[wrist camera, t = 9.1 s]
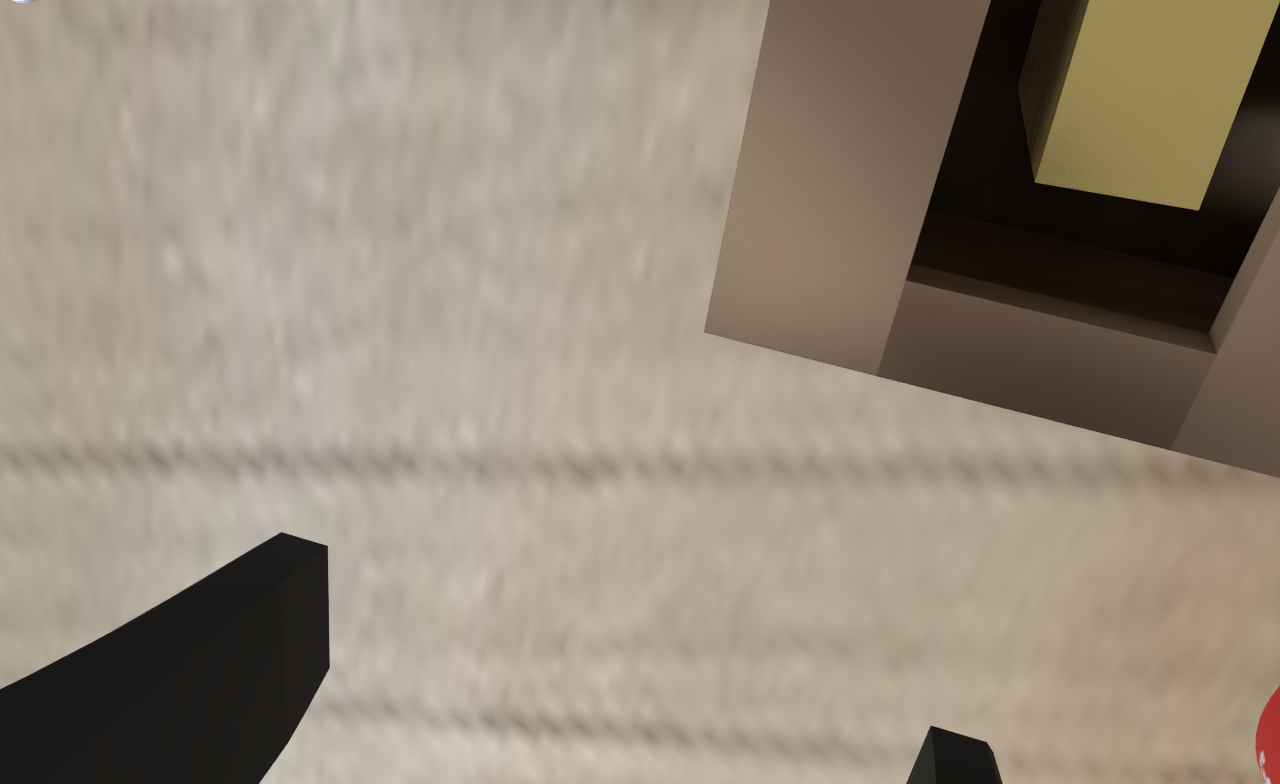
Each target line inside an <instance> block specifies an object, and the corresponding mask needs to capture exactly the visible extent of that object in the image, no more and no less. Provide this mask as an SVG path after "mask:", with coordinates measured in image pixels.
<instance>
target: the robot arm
mask: <svg viewBox="0 0 1280 784" xmlns="http://www.w3.org/2000/svg"><path fill="white" fill-rule="evenodd" d="M13 1H15V2H18V3H28V2H32V1H36V0H13ZM329 668H330V660H329V596H328V546H326V545H323V544H319V543H316V542H312V541H309V540H306V539H302V538H299V537H296V536H292V535H289V534H286V533H282V532H281V533H279V534H278V535H276V536H274V537H272V538H271V539H269V540H267V541H265V542H264V543H262V544H260V545H258V546H257V547H255V548H253V549H252V550H250V551H248V552H246V553H245V554H243V555H241V556H240V557H238V558H236V559H235V560H233V561H231V562H230V563H228V564H226V565H225V566H223V567H221V568H220V569H218V570H216V571H215V572H213V573H211V574H210V575H208V576H206V577H205V578H203V579H201V580H200V581H198V582H196V583H195V584H193V585H191V586H190V587H188V588H186V589H185V590H183V591H181V592H180V593H178V594H176V595H175V596H173V597H171V598H170V599H168V600H166V601H164V602H163V603H161V604H159V605H157V606H156V607H154V608H152V609H150V610H149V611H147V612H145V613H143V614H142V615H140V616H138V617H136V618H135V619H133V620H131V621H129V622H128V623H126V624H124V625H122V626H121V627H119V628H117V629H115V630H114V631H112V632H110V633H108V634H106V635H105V636H103V637H101V638H99V639H97V640H96V641H94V642H92V643H90V644H88V645H86V646H84V647H82V648H80V649H78V650H76V651H75V652H73V653H71V654H69V655H67V656H65V657H63V658H61V659H59V660H57V661H55V662H53V663H52V664H50V665H48V666H46V667H44V668H42V669H40V670H38V671H36V672H34V673H32V674H30V675H29V676H27V677H25V678H22V679H20V680H18V681H16V682H14V683H12V684H10V685H8V686H6V687H4V688H2V689H0V784H259V783H260V781H261V780H262V779H263V777H264V776H265V774H266V773H267V772H268V770H269V769H270V767H271V766H272V765H273V763H274V762H275V760H276V759H277V758H278V756H279V755H280V753H281V752H282V751H283V749H284V748H285V746H286V745H287V743H288V742H289V740H290V738H291V737H292V735H293V733H294V731H295V730H296V728H297V726H298V724H299V723H300V721H301V719H302V717H303V716H304V714H305V712H306V710H307V709H308V707H309V705H310V703H311V701H312V699H313V698H314V696H315V694H316V692H317V690H318V688H319V686H320V685H321V683H322V681H323V679H324V677H325V675H326V673H327V672H328V670H329ZM906 784H1003V783H1002V780H1001V777H1000V774H999V770H998V767H997V764H996V760H995V757H994V753H993V751H992V750H991V748H990V746H989V745H988V743H987V742H984V741H981V740H977V739H974V738H971V737H967V736H964V735H961V734H957V733H954V732H951V731H947V730H944V729H940V728H937V727H934V726H930V729H929V731H928V733H927V736H926V738H925V741H924V743H923V745H922V748H921V750H920V752H919V755H918V757H917V759H916V762H915V764H914V767H913V769H912V771H911V774H910V776H909V778H908V781H907V783H906Z"/></svg>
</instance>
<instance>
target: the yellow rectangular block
mask: <svg viewBox="0 0 1280 784" xmlns="http://www.w3.org/2000/svg"><path fill="white" fill-rule="evenodd" d="M1279 2H1280V0H1042V2H1041V5H1040V9H1039V12H1038V16H1037V20H1036V23H1035V27H1034V30H1033V34H1032V38H1031V41H1030V45H1029V48H1028V52H1027V56H1026V59H1025V63H1024V66H1023V70H1022V74H1021V77H1020V81H1019V84H1018V91H1019V97H1020V102H1021V108H1022V114H1023V119H1024V125H1025V130H1026V136H1027V142H1028V147H1029V153H1030V158H1031V164H1032V170H1033V175H1034V181H1035V182H1036V183H1042V184H1047V185H1053V186H1059V187H1065V188H1071V189H1077V190H1082V191H1088V192H1094V193H1100V194H1106V195H1111V196H1117V197H1123V198H1129V199H1135V200H1141V201H1146V202H1152V203H1158V204H1164V205H1170V206H1175V207H1181V208H1187V209H1193V210H1199V208H1200V206H1201V203H1202V201H1203V198H1204V195H1205V193H1206V190H1207V188H1208V185H1209V183H1210V180H1211V177H1212V175H1213V172H1214V170H1215V167H1216V165H1217V162H1218V159H1219V157H1220V154H1221V152H1222V149H1223V147H1224V144H1225V141H1226V139H1227V136H1228V134H1229V131H1230V129H1231V126H1232V123H1233V121H1234V118H1235V116H1236V113H1237V111H1238V108H1239V105H1240V103H1241V100H1242V98H1243V95H1244V92H1245V90H1246V87H1247V85H1248V82H1249V80H1250V77H1251V74H1252V72H1253V69H1254V67H1255V64H1256V62H1257V59H1258V56H1259V54H1260V51H1261V49H1262V46H1263V44H1264V41H1265V38H1266V36H1267V33H1268V31H1269V28H1270V26H1271V23H1272V20H1273V18H1274V15H1275V13H1276V10H1277V8H1278V5H1279Z"/></svg>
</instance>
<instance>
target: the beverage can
mask: <svg viewBox="0 0 1280 784" xmlns="http://www.w3.org/2000/svg"><path fill="white" fill-rule="evenodd" d="M1256 755H1257V761H1258V765H1259V768H1260V771H1261V775H1262V778H1263V781H1264V784H1280V685H1279V686H1278V687H1277V689H1276V690H1275V691H1274V692H1273V694H1272V696H1271V697H1270V699H1269V700H1268V702H1267V704H1266V706H1265V708H1264V710H1263V712H1262V714H1261V717H1260V720H1259V723H1258V728H1257V733H1256Z"/></svg>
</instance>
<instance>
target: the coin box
mask: <svg viewBox="0 0 1280 784" xmlns="http://www.w3.org/2000/svg"><path fill="white" fill-rule="evenodd" d="M990 2H991V0H770V5H769V10H768V15H767V20H766V25H765V30H764V35H763V40H762V45H761V50H760V55H759V60H758V65H757V70H756V75H755V80H754V85H753V90H752V95H751V100H750V105H749V110H748V115H747V120H746V125H745V130H744V135H743V140H742V145H741V150H740V155H739V160H738V165H737V170H736V175H735V180H734V185H733V190H732V195H731V200H730V205H729V210H728V215H727V220H726V225H725V230H724V235H723V240H722V245H721V250H720V255H719V260H718V265H717V270H716V275H715V280H714V285H713V290H712V295H711V300H710V305H709V310H708V315H707V320H706V325H705V330H704V333H708V334H712V335H716V336H720V337H724V338H728V339H732V340H736V341H740V342H744V343H748V344H752V345H756V346H760V347H764V348H768V349H772V350H776V351H780V352H784V353H787V354H791V355H795V356H799V357H803V358H807V359H811V360H815V361H819V362H823V363H827V364H831V365H835V366H839V367H843V368H847V369H851V370H855V371H859V372H863V373H867V374H871V375H875V376H879V377H882V378H886V379H890V380H894V381H898V382H902V383H906V384H910V385H914V386H918V387H922V388H926V389H930V390H934V391H938V392H942V393H946V394H950V395H954V396H958V397H962V398H966V399H970V400H974V401H977V402H981V403H985V404H989V405H993V406H997V407H1001V408H1005V409H1009V410H1013V411H1017V412H1021V413H1025V414H1029V415H1033V416H1037V417H1041V418H1045V419H1049V420H1053V421H1057V422H1061V423H1065V424H1069V425H1072V426H1076V427H1080V428H1084V429H1088V430H1092V431H1096V432H1100V433H1104V434H1108V435H1112V436H1116V437H1120V438H1124V439H1128V440H1132V441H1136V442H1140V443H1144V444H1148V445H1152V446H1156V447H1160V448H1164V449H1167V450H1171V451H1175V452H1179V453H1183V454H1187V455H1191V456H1195V457H1199V458H1203V459H1207V460H1211V461H1215V462H1219V463H1223V464H1227V465H1231V466H1235V467H1239V468H1243V469H1247V470H1251V471H1255V472H1258V473H1262V474H1266V475H1270V476H1274V477H1278V478H1280V187H1279V189H1278V191H1277V193H1276V196H1275V198H1274V200H1273V202H1272V204H1271V206H1270V208H1269V210H1268V212H1267V214H1266V216H1265V218H1264V220H1263V222H1262V224H1261V226H1260V228H1259V230H1258V233H1257V235H1256V237H1255V239H1254V241H1253V243H1252V245H1251V247H1250V249H1249V251H1248V253H1247V255H1246V257H1245V259H1244V261H1243V263H1242V265H1241V268H1240V270H1239V272H1238V274H1237V276H1236V278H1235V279H1232V278H1228V277H1224V276H1219V275H1215V274H1211V273H1206V272H1202V271H1197V270H1193V269H1189V268H1184V267H1180V266H1176V265H1171V264H1167V263H1162V262H1158V261H1154V260H1149V259H1145V258H1141V257H1136V256H1132V255H1127V254H1123V253H1119V252H1114V251H1110V250H1106V249H1101V248H1097V247H1092V246H1088V245H1084V244H1079V243H1075V242H1070V241H1066V240H1062V239H1057V238H1053V237H1049V236H1044V235H1040V234H1035V233H1031V232H1027V231H1022V230H1018V229H1014V228H1009V227H1005V226H1000V225H996V224H992V223H987V222H983V221H979V220H974V219H970V218H965V217H961V216H957V215H952V214H948V213H944V212H939V211H935V210H930V209H927V208H928V205H929V202H930V198H931V195H932V192H933V188H934V185H935V182H936V179H937V175H938V172H939V169H940V165H941V162H942V159H943V156H944V152H945V149H946V146H947V143H948V139H949V136H950V133H951V129H952V126H953V123H954V120H955V116H956V113H957V110H958V106H959V103H960V100H961V97H962V93H963V90H964V87H965V84H966V80H967V77H968V74H969V70H970V67H971V64H972V61H973V57H974V54H975V51H976V47H977V44H978V41H979V38H980V34H981V31H982V28H983V24H984V21H985V18H986V15H987V11H988V8H989V5H990Z"/></svg>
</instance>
